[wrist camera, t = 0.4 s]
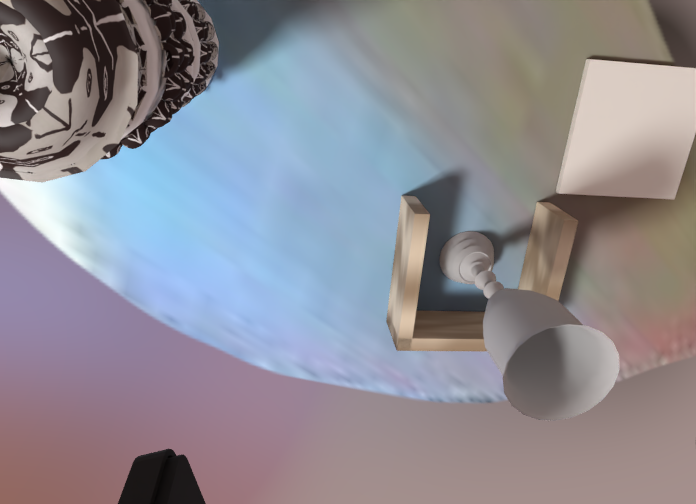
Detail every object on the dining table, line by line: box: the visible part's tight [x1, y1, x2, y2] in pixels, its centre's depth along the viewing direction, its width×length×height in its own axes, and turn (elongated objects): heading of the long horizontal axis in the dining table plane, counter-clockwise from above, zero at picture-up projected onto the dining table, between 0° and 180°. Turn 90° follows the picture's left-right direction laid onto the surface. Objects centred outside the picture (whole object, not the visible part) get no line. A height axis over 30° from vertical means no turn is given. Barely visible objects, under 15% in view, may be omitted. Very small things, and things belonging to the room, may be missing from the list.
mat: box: [556, 59, 696, 199], centre depth 45 cm, size 11×11×1 cm
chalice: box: [439, 231, 619, 420], centre depth 40 cm, size 7×7×18 cm
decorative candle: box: [0, 0, 219, 182], centre depth 28 cm, size 9×9×25 cm
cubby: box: [387, 195, 578, 351], centre depth 46 cm, size 12×13×5 cm
